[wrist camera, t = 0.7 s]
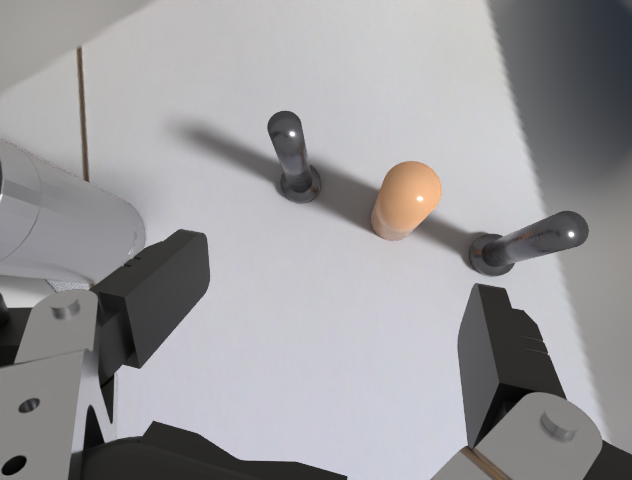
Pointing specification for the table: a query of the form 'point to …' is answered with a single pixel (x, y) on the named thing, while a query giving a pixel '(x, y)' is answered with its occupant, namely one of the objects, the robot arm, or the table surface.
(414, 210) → the canister
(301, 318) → the table surface
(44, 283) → the radio
